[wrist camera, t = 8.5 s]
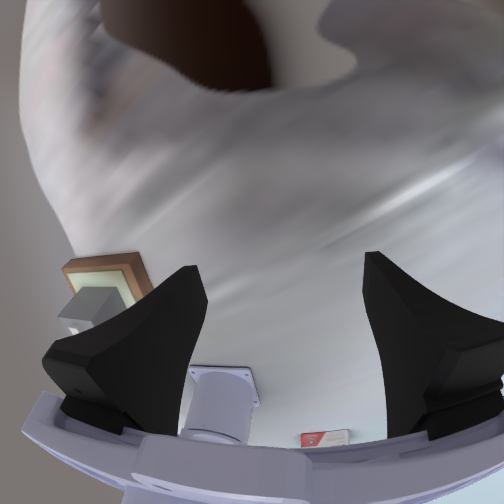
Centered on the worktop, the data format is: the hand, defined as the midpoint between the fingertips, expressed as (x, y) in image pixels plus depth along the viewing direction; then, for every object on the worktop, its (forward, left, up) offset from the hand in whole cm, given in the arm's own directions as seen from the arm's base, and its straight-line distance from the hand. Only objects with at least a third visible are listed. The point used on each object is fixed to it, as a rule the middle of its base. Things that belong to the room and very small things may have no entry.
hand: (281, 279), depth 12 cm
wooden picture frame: (-10, +19, -10) cm, 24 cm away
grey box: (-10, +19, -8) cm, 23 cm away
